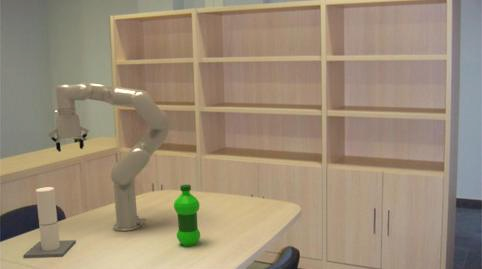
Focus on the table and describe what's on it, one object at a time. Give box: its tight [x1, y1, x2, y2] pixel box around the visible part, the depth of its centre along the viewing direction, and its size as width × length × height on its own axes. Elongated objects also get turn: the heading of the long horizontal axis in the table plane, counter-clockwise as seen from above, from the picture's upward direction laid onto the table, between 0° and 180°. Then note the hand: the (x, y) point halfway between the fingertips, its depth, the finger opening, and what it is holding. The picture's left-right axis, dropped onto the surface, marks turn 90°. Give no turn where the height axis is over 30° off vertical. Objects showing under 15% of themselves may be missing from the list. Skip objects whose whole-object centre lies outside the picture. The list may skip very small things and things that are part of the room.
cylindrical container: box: [35, 186, 60, 250], centre depth 221 cm, size 7×7×25 cm
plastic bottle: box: [173, 184, 201, 247], centre depth 221 cm, size 10×10×25 cm
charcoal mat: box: [23, 239, 77, 259], centre depth 223 cm, size 16×16×1 cm
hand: (70, 150), depth 240 cm, fingers open, 9 cm apart
